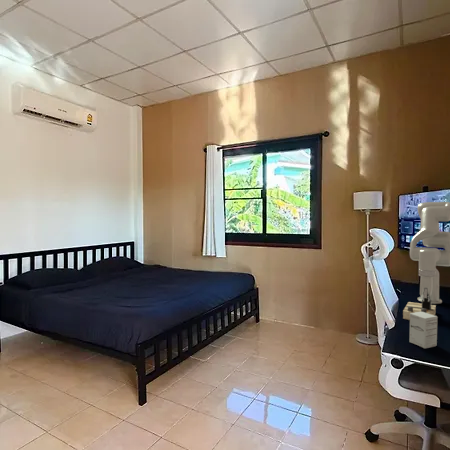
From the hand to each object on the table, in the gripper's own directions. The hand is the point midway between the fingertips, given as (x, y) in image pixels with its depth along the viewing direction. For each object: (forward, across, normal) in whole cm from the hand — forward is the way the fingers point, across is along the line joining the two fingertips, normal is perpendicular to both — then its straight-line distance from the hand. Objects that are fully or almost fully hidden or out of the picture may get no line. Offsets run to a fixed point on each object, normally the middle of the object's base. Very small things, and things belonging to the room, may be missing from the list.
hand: (426, 307), depth 173 cm
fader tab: (0, 0, 0) cm, 0 cm away
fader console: (+5, 0, -3) cm, 6 cm away
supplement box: (+5, +41, +2) cm, 41 cm away
